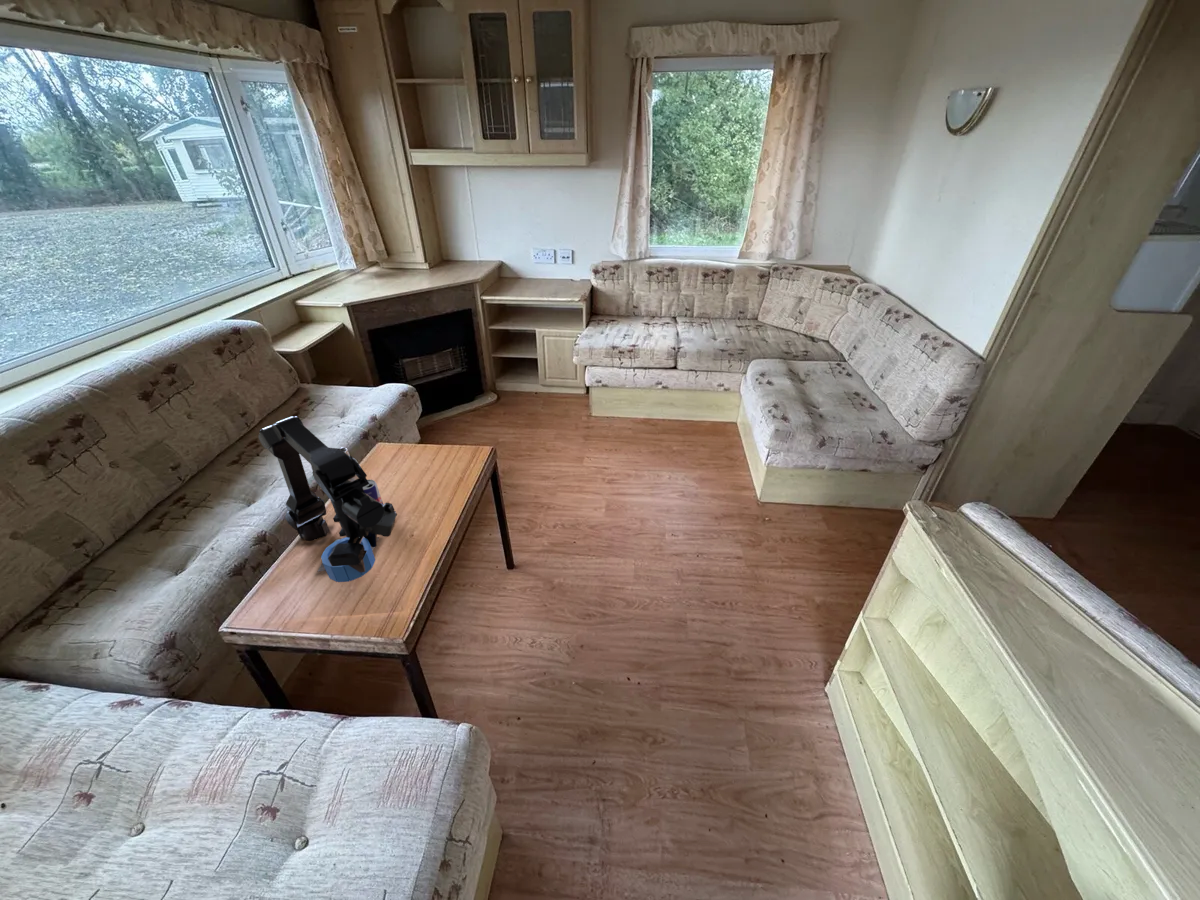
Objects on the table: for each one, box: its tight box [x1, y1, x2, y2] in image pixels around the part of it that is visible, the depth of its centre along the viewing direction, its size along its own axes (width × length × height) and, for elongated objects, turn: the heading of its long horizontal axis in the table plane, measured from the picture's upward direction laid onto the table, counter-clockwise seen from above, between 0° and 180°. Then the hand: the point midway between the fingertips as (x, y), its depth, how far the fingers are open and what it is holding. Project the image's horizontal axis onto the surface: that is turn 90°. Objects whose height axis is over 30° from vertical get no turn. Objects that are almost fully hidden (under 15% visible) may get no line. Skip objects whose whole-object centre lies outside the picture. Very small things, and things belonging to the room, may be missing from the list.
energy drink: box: [363, 479, 384, 504], centre depth 140 cm, size 5×5×12 cm
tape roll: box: [320, 536, 376, 583], centre depth 113 cm, size 10×10×5 cm
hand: (368, 558), depth 113 cm, fingers closed on tape roll, 8 cm apart
